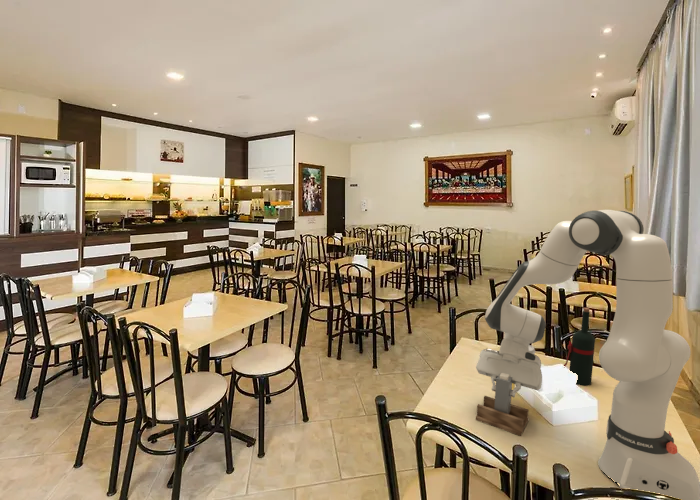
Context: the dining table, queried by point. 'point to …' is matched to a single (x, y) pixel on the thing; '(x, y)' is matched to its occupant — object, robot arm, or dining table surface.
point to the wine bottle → (582, 352)
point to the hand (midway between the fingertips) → (502, 393)
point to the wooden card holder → (502, 416)
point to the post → (503, 393)
